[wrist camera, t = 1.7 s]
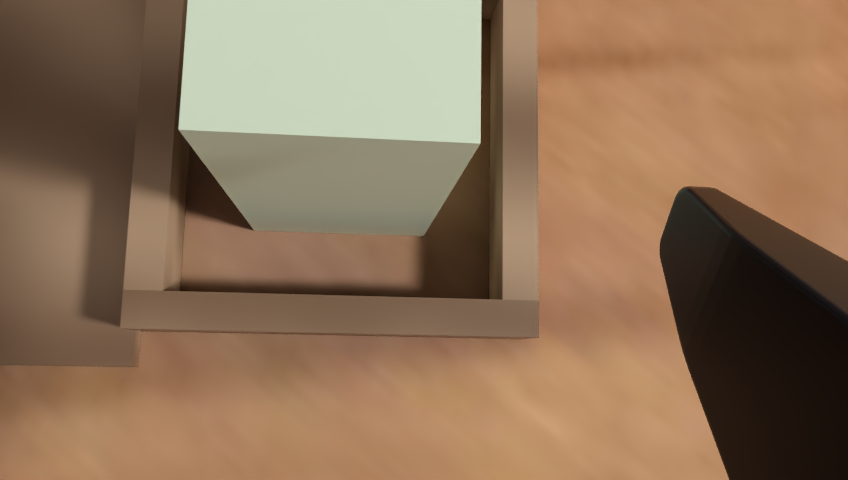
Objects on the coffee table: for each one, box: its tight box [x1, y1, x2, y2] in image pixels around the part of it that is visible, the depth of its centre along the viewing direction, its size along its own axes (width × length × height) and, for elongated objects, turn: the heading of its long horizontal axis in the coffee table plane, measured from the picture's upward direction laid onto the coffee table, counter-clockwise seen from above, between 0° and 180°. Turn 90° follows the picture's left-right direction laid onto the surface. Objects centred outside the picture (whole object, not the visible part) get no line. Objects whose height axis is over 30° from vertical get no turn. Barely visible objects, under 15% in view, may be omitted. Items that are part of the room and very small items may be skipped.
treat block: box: [178, 0, 482, 236], centre depth 18 cm, size 5×5×10 cm
